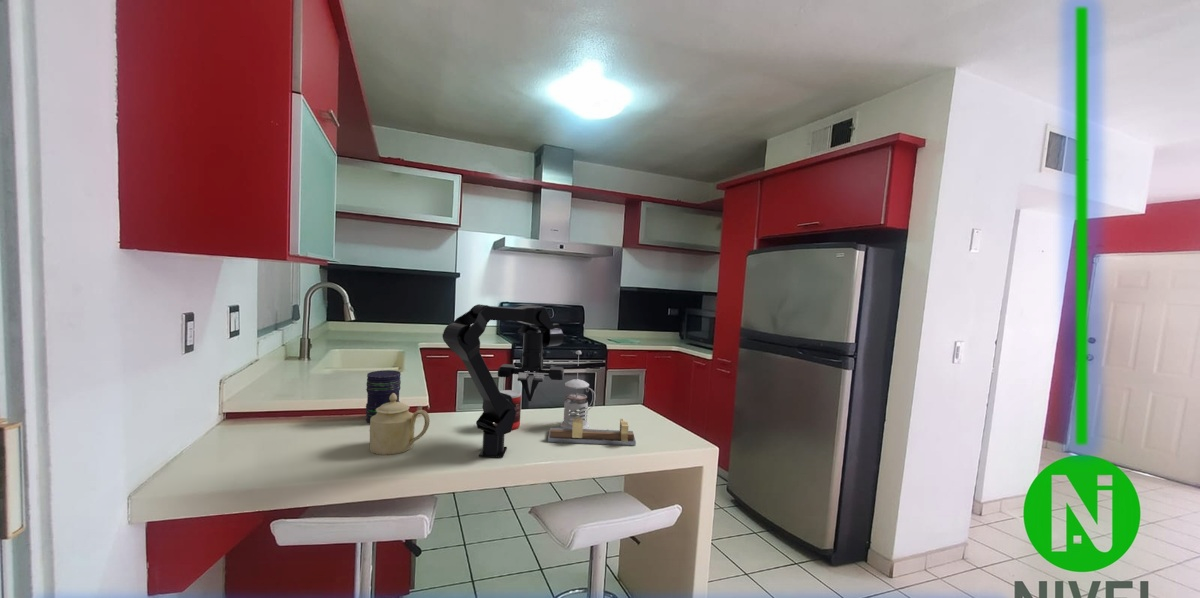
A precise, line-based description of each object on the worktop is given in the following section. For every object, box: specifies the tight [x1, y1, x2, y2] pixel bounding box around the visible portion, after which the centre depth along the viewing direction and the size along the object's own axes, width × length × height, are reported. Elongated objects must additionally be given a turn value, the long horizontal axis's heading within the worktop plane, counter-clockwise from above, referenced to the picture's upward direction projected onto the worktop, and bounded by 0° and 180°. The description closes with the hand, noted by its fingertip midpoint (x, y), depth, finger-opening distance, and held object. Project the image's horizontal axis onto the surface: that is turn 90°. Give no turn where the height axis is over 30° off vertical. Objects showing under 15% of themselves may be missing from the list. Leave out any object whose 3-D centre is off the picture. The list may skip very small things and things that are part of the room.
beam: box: [549, 418, 635, 441], centre depth 134 cm, size 7×25×5 cm, turn 92°
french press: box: [560, 350, 596, 429], centre depth 146 cm, size 10×12×25 cm
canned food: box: [494, 389, 522, 431], centre depth 141 cm, size 8×8×11 cm
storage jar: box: [365, 369, 402, 425], centre depth 142 cm, size 10×10×15 cm
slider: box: [572, 417, 583, 438], centre depth 134 cm, size 7×3×5 cm, turn 2°
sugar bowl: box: [369, 393, 431, 456], centre depth 121 cm, size 15×11×15 cm
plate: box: [547, 427, 637, 446], centre depth 135 cm, size 9×26×1 cm, turn 92°
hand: (530, 400), depth 130 cm, fingers closed
